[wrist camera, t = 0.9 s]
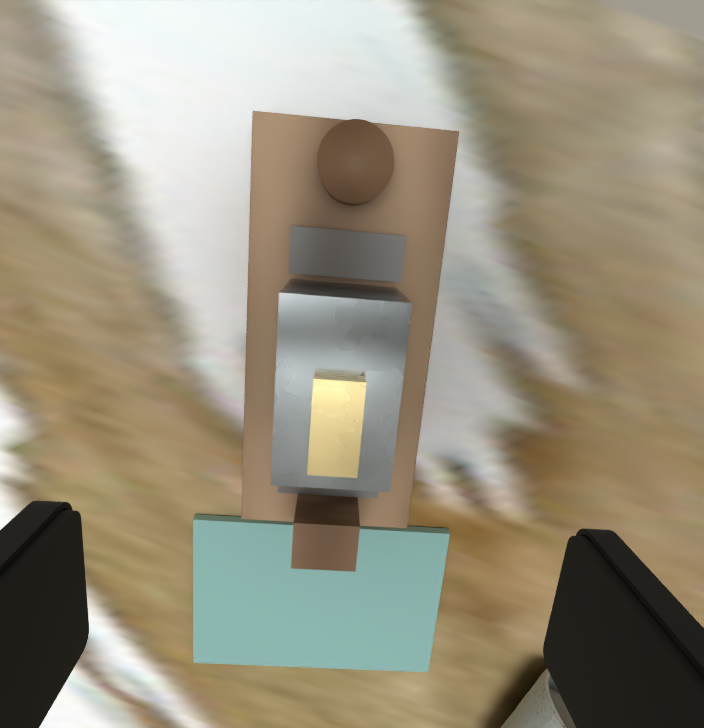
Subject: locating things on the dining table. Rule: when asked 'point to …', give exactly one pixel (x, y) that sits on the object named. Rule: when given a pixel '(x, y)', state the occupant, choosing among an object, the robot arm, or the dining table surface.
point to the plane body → (342, 265)
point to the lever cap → (338, 384)
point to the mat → (314, 598)
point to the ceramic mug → (541, 707)
